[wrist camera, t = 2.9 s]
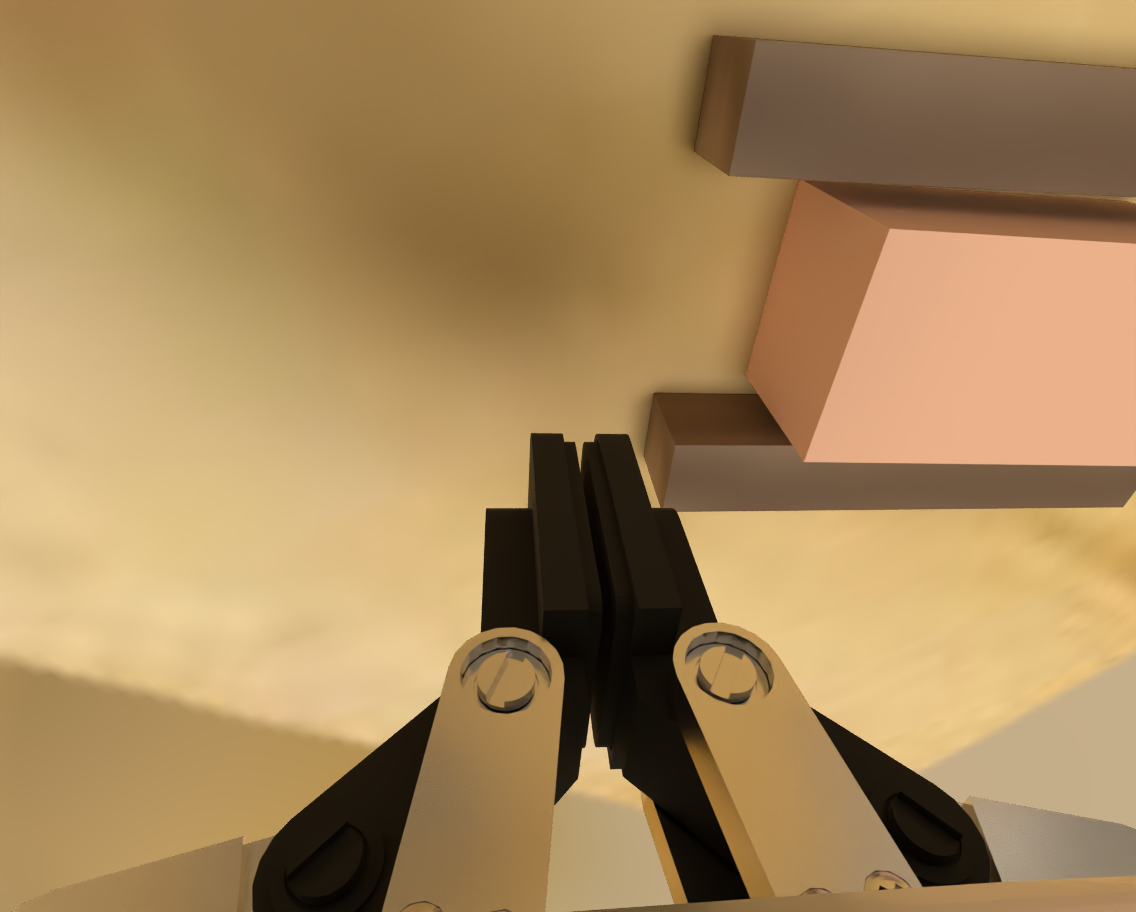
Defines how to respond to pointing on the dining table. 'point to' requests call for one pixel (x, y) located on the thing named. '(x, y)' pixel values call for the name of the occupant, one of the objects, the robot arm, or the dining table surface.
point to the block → (951, 327)
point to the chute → (900, 157)
